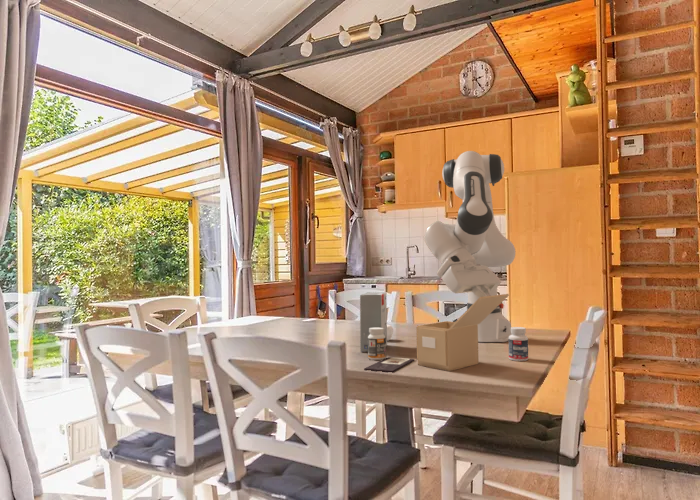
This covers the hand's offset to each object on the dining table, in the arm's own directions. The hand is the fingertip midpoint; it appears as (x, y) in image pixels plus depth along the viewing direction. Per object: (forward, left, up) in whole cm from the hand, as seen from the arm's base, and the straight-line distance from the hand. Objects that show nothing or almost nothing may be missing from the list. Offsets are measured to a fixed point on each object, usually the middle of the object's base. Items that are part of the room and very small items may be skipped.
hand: (489, 300), depth 149 cm
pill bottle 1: (+9, -37, -21) cm, 44 cm away
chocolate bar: (+13, -27, -21) cm, 37 cm away
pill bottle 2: (-21, -4, -21) cm, 30 cm away
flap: (0, -9, -8) cm, 12 cm away
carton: (0, -15, -20) cm, 25 cm away
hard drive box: (-3, -51, -21) cm, 55 cm away
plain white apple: (-18, -61, -21) cm, 67 cm away
